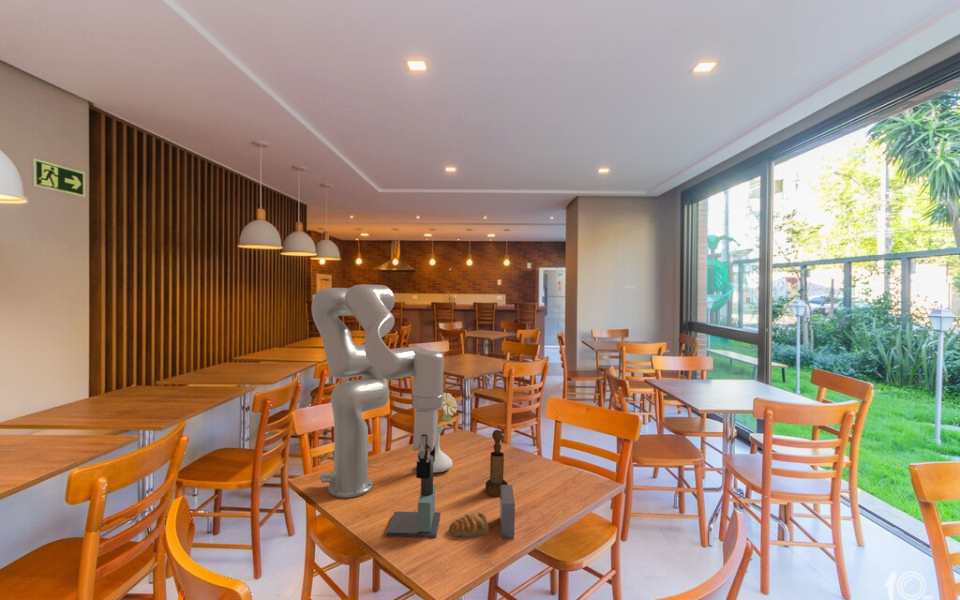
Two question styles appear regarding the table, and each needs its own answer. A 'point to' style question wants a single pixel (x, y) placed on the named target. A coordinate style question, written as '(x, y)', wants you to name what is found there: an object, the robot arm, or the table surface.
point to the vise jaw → (426, 502)
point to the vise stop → (507, 512)
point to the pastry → (469, 526)
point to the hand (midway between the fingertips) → (425, 469)
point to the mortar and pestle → (496, 467)
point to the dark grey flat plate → (410, 525)
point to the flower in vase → (449, 407)
